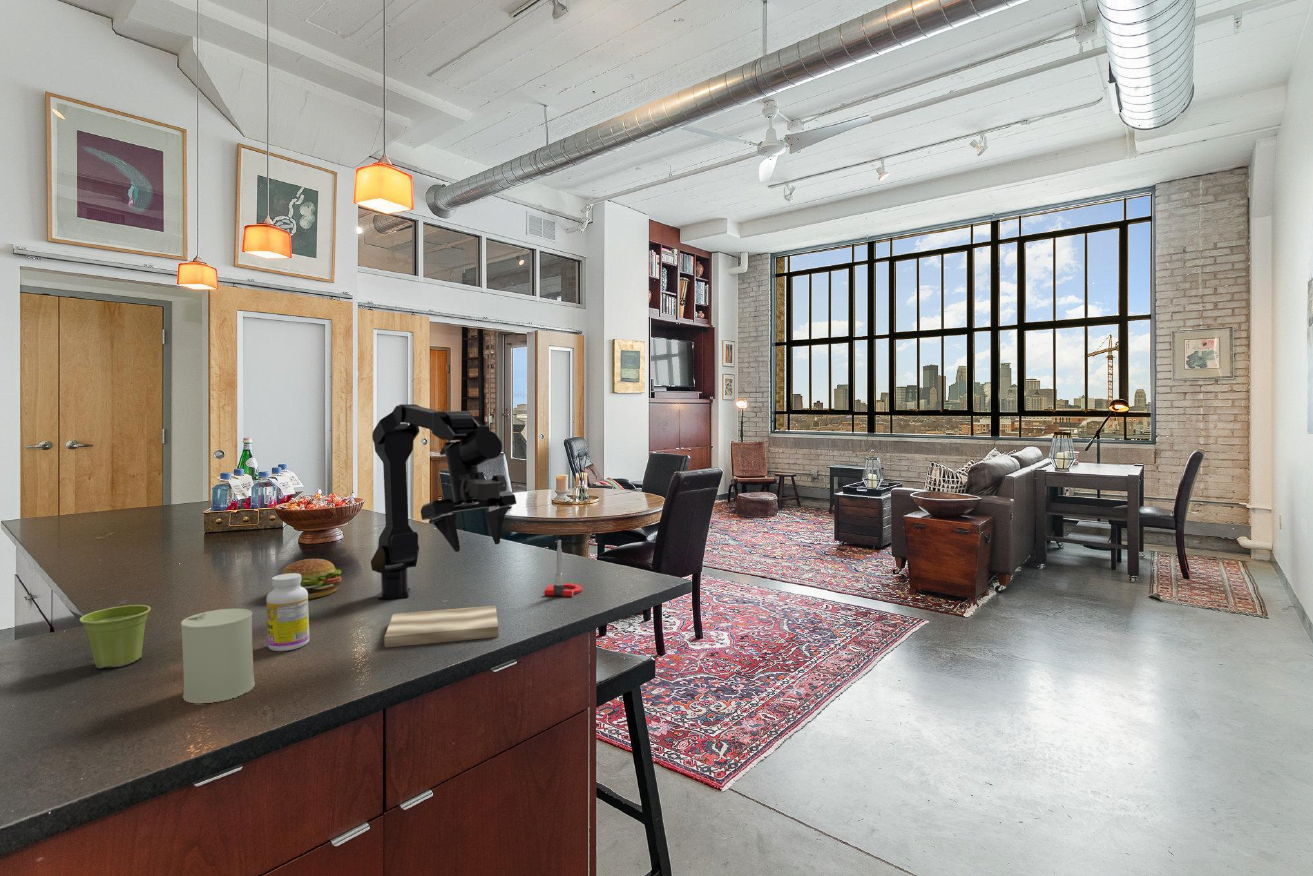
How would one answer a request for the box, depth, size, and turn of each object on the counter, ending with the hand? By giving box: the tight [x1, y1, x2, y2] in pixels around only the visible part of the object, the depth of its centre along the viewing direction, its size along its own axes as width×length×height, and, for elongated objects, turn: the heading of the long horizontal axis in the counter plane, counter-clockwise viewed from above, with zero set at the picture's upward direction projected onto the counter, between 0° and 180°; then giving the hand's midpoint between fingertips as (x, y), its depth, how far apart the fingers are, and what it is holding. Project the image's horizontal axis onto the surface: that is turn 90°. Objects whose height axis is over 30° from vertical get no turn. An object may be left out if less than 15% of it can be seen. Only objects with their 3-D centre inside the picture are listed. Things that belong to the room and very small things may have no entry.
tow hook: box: [543, 539, 583, 598], centre depth 157 cm, size 8×13×9 cm
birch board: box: [383, 605, 499, 648], centre depth 130 cm, size 14×20×2 cm
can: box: [180, 608, 256, 704], centre depth 102 cm, size 9×9×12 cm
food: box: [272, 558, 343, 600], centre depth 157 cm, size 14×14×8 cm
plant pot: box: [79, 604, 152, 666], centre depth 114 cm, size 9×9×9 cm
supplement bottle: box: [265, 573, 310, 652], centre depth 122 cm, size 7×7×13 cm
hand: (478, 547), depth 132 cm, fingers open, 9 cm apart
